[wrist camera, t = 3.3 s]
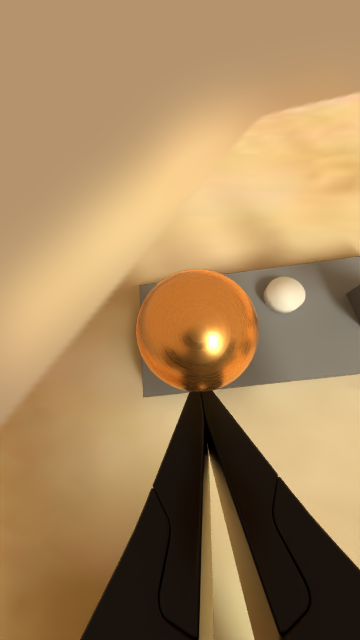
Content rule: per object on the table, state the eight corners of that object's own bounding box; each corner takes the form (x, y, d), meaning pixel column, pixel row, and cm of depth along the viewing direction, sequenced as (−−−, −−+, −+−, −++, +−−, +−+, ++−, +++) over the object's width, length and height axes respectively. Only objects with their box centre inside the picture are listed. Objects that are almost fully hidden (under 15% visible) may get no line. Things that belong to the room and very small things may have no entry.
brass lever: (174, 345, 13) (127, 424, 3) (169, 307, 13) (107, 262, 3) (212, 340, 13) (295, 408, 3) (207, 302, 13) (273, 239, 3)
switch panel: (151, 396, 14) (132, 398, 10) (147, 299, 17) (130, 268, 13) (433, 365, 14) (546, 353, 9) (380, 269, 16) (448, 225, 12)
